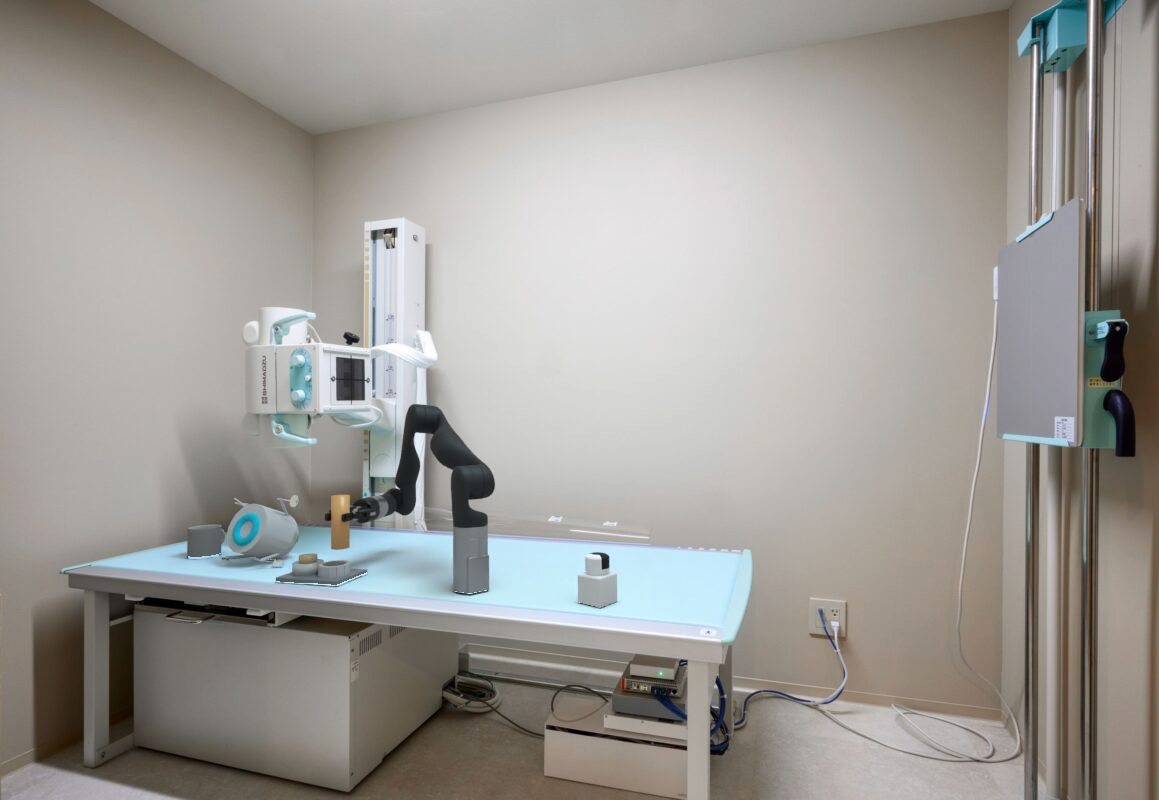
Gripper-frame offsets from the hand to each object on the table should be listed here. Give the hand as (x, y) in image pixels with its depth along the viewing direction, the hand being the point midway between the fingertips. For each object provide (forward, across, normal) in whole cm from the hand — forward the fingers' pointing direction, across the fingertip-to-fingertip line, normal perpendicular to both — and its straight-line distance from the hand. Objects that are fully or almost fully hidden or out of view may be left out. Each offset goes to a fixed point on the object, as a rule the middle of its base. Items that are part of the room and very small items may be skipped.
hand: (334, 517), depth 170 cm
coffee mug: (-19, -66, +19) cm, 71 cm away
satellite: (-16, -40, +19) cm, 47 cm away
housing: (-2, -6, +18) cm, 19 cm away
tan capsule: (-3, 0, +9) cm, 9 cm away
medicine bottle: (+1, +78, +18) cm, 80 cm away
